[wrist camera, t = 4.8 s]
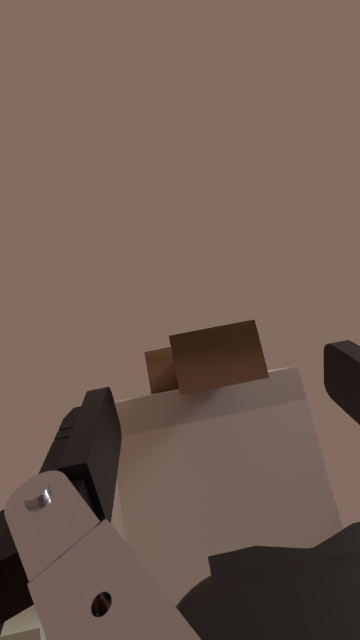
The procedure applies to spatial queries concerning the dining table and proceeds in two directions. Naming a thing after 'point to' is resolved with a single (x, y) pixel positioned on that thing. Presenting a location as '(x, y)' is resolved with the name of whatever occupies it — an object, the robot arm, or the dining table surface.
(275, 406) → the cream stand
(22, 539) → the robot arm
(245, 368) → the walnut paddle
